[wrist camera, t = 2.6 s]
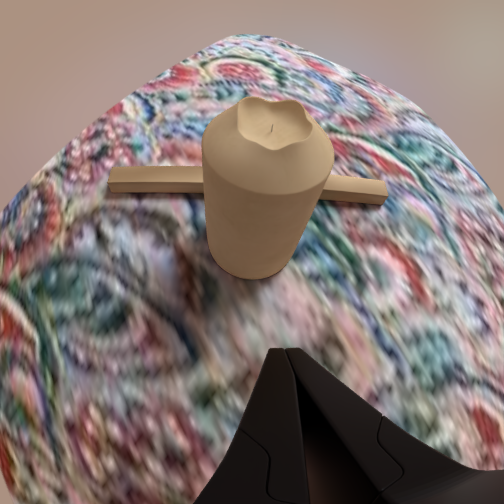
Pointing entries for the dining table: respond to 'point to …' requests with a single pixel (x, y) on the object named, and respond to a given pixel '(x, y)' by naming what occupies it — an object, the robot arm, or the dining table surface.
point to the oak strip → (192, 182)
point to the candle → (261, 183)
